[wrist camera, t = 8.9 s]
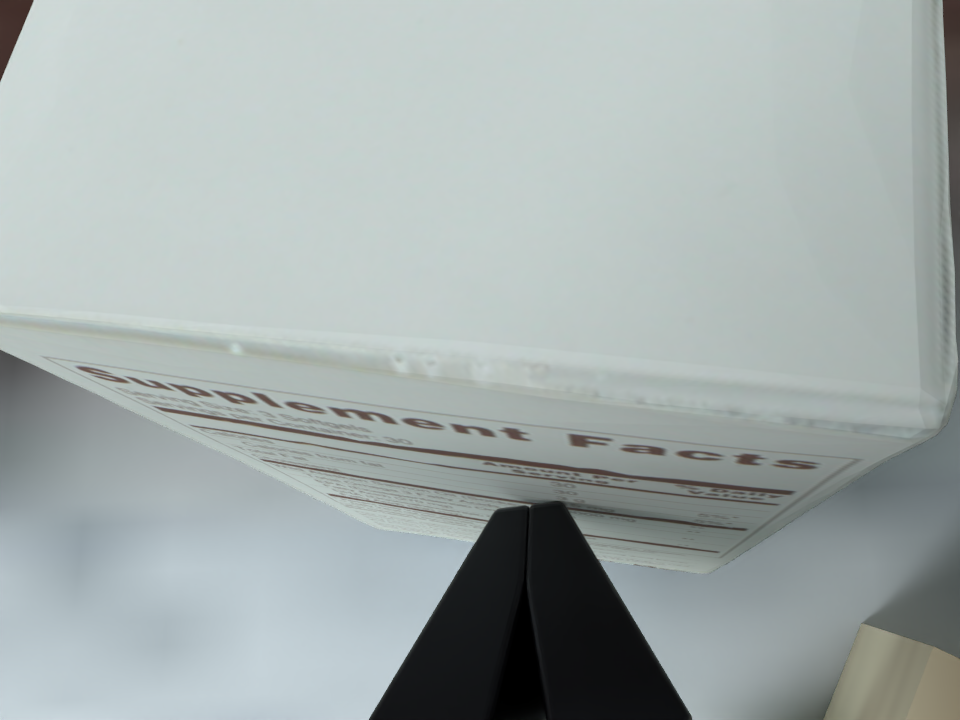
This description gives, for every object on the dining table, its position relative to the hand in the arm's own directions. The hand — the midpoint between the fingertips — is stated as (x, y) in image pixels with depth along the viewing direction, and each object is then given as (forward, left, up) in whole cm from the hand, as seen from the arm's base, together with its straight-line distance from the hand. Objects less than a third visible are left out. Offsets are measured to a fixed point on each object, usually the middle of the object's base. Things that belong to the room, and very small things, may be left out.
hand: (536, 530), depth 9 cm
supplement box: (+2, -2, -8) cm, 9 cm away
